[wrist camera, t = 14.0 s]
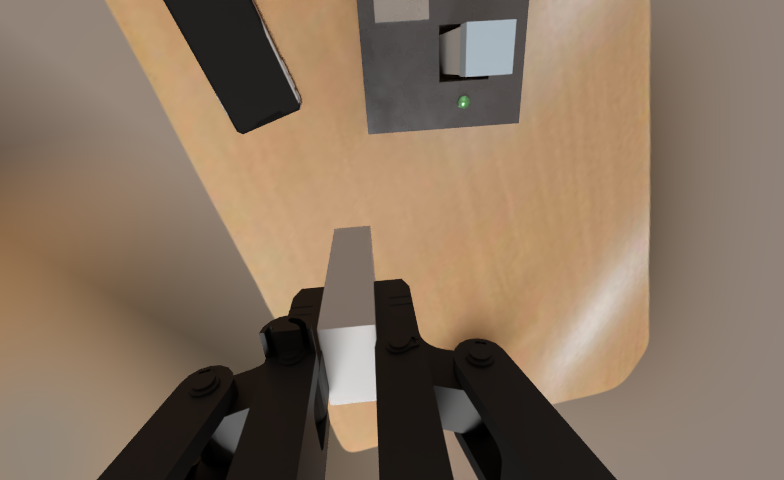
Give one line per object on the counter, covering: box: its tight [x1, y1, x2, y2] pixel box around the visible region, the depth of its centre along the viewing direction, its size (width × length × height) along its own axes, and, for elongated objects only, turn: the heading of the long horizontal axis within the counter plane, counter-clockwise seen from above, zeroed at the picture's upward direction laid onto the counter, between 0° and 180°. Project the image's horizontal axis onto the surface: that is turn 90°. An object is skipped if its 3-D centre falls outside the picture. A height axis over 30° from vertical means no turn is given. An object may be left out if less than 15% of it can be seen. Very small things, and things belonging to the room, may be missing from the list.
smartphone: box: [163, 0, 302, 134], centre depth 38 cm, size 8×1×15 cm
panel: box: [357, 0, 529, 134], centre depth 37 cm, size 14×16×4 cm
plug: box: [439, 19, 516, 77], centre depth 34 cm, size 4×4×12 cm
